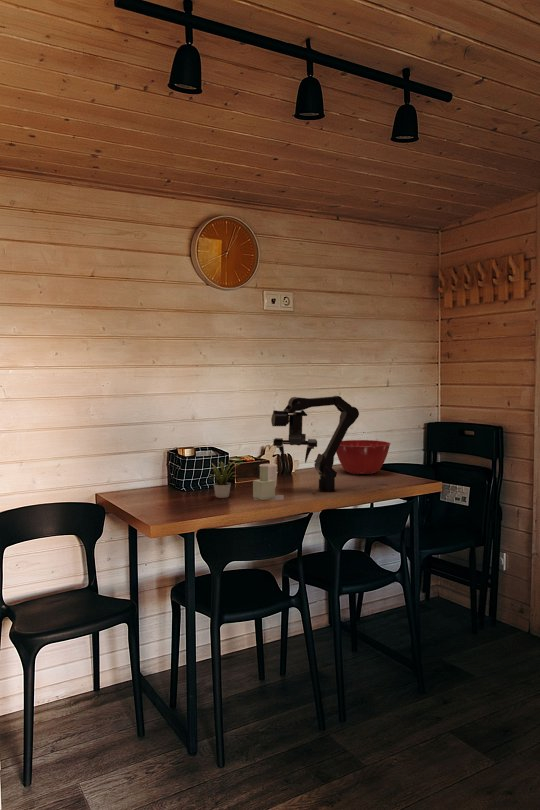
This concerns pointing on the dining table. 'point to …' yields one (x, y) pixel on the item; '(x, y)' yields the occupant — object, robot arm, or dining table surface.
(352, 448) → the mixing bowl
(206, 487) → the dining table surface
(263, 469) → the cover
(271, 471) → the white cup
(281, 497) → the slate mat
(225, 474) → the house plant
